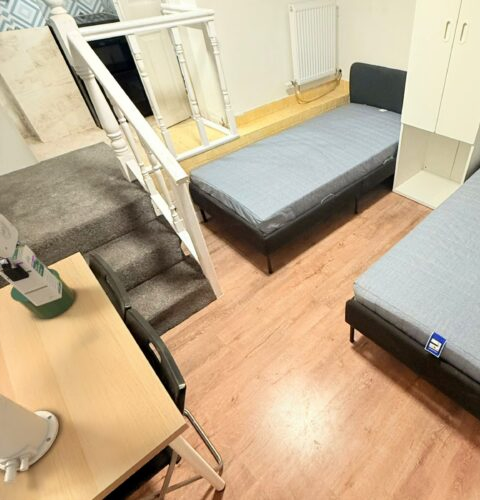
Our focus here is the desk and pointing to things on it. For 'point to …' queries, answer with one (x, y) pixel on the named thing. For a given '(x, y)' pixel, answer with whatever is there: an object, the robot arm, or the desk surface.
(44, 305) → the tin
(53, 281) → the syrup box
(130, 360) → the desk surface
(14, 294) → the tin lid
